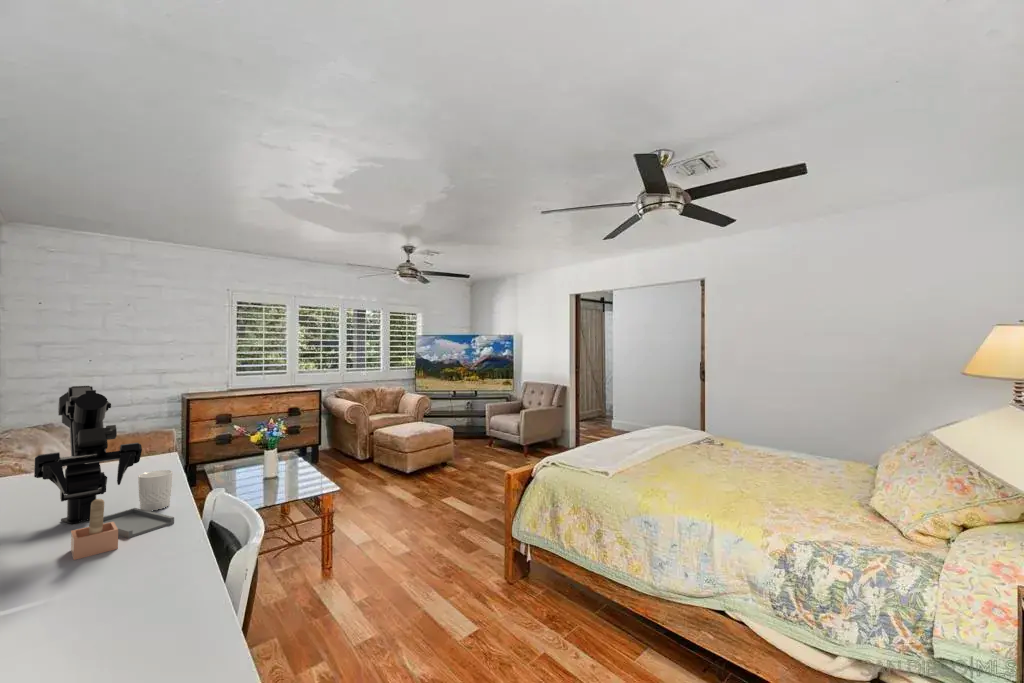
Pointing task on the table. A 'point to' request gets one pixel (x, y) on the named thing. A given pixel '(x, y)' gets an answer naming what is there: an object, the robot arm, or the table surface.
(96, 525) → the birch dowel
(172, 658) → the table surface
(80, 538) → the terracotta box
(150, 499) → the white cup
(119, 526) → the slate tray
